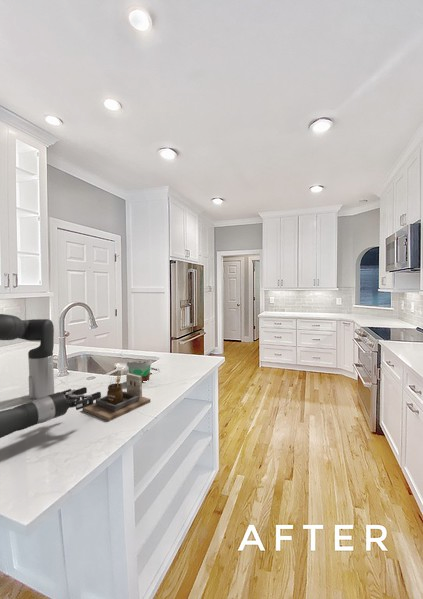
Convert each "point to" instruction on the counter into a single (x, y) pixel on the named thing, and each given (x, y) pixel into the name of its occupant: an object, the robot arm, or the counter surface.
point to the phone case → (155, 371)
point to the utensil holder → (115, 392)
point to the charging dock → (130, 402)
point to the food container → (140, 369)
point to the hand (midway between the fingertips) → (93, 392)
